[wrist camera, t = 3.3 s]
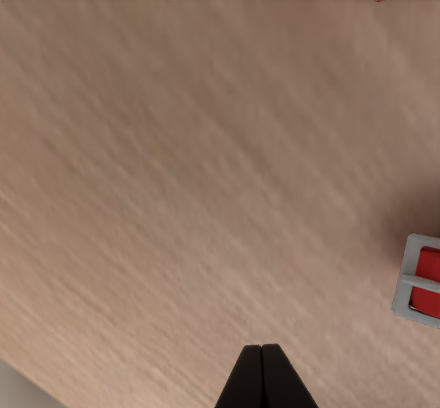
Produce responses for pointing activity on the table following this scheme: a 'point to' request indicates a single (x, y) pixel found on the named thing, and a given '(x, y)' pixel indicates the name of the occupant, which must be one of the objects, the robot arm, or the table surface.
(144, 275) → the table surface
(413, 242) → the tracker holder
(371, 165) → the table surface
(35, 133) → the table surface
